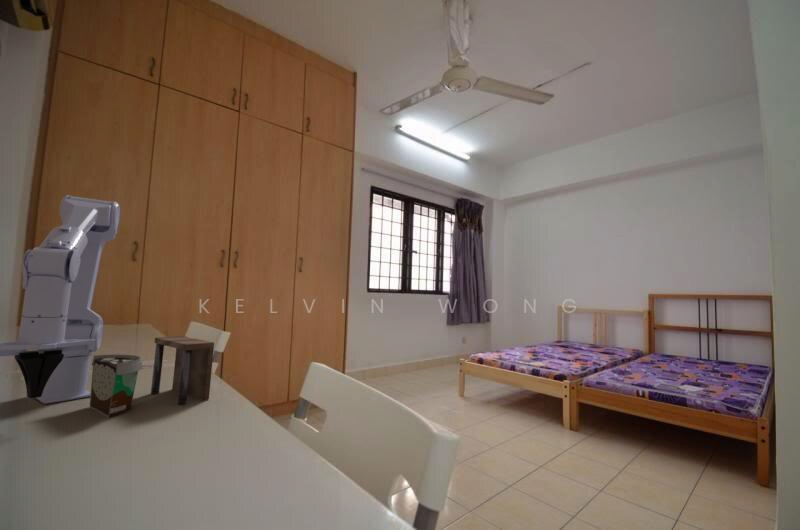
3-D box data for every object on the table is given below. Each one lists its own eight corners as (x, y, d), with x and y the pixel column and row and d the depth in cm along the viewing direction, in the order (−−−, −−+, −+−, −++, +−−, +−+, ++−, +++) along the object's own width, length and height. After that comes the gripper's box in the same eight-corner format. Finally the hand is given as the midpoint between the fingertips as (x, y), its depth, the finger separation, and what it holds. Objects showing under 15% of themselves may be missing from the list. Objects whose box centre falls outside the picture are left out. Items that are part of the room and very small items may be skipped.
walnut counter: (148, 393, 83) (155, 337, 84) (176, 388, 88) (181, 336, 89) (180, 405, 75) (186, 344, 76) (208, 399, 80) (214, 342, 81)
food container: (149, 411, 71) (155, 359, 72) (112, 419, 66) (118, 363, 67) (122, 399, 78) (128, 352, 79) (86, 405, 73) (92, 355, 73)
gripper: (-12, 319, 55) (-26, 411, 53) (105, 317, 67) (95, 392, 66) (-22, 315, 58) (-35, 402, 57) (90, 314, 71) (81, 385, 69)
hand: (34, 396), depth 62 cm, fingers closed
